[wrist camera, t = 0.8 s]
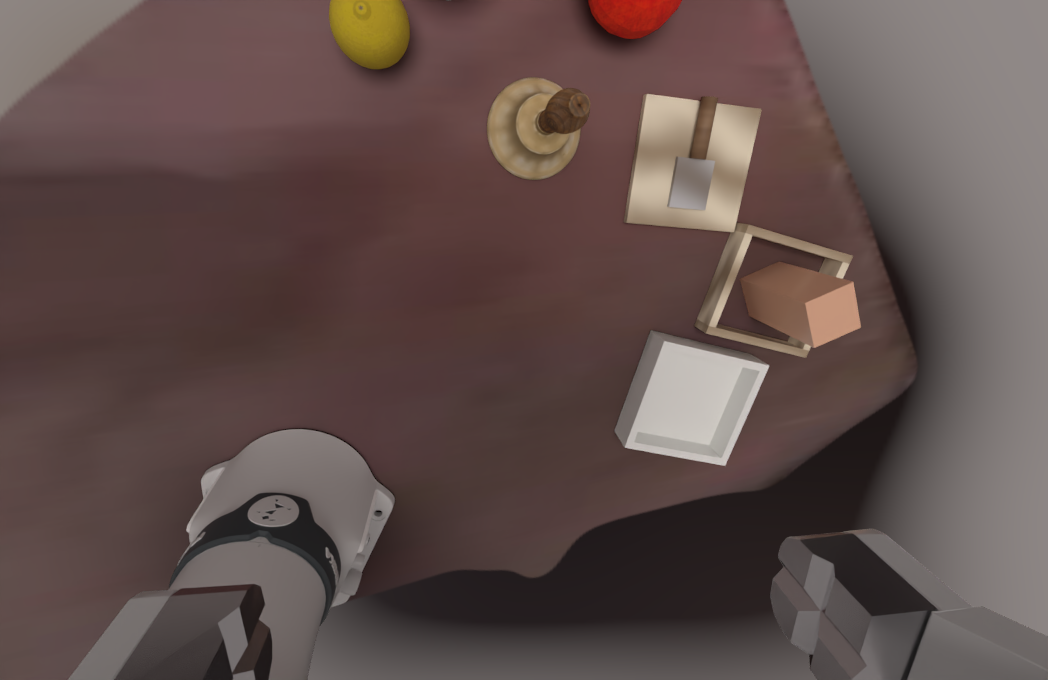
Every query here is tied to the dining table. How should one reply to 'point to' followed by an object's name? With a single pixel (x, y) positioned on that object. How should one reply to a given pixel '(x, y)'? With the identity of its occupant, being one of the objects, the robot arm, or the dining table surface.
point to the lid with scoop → (690, 163)
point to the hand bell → (536, 127)
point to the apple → (632, 15)
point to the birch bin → (728, 271)
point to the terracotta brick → (801, 302)
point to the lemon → (370, 30)
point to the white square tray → (689, 399)
